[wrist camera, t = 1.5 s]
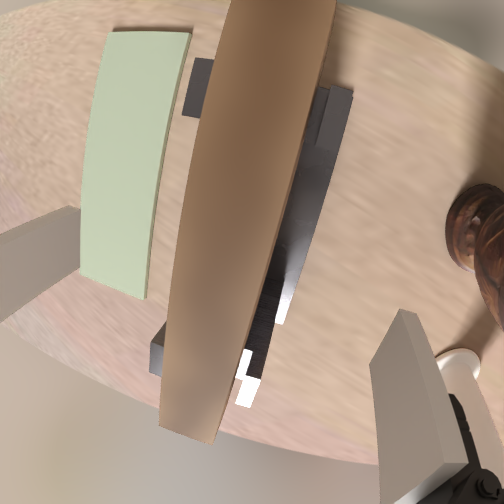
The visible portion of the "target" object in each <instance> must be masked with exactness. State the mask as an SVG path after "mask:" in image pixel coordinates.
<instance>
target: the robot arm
mask: <svg viewBox="0 0 504 504" xmlns="http://www.w3.org/2000/svg"><path fill="white" fill-rule="evenodd" d="M80 229H81V209H78V208H75V207H72V206H66V207H64V208H61V209H58V210H56V211H53V212H51V213H48V214H46V215H44V216H41V217H39V218H36V219H34V220H32V221H29V222H27V223H25V224H22V225H20V226H18V227H15V228H13V229H11V230H9V231H7V232H4V233H2V234H0V323H1V322H2V321H4V320H5V319H6V318H8V317H9V316H10V315H12V314H13V313H14V312H16V311H17V310H19V309H20V308H21V307H23V306H24V305H25V304H27V303H28V302H30V301H31V300H32V299H34V298H35V297H37V296H38V295H40V294H41V293H42V292H44V291H45V290H47V289H48V288H50V287H51V286H53V285H54V284H56V283H57V282H59V281H60V280H62V279H63V278H64V277H66V276H67V275H69V274H71V273H72V272H74V271H75V270H77V269H78V268H80ZM369 366H370V374H371V381H372V390H373V399H374V408H375V418H376V430H377V443H378V458H379V478H380V504H504V489H502V486H501V483H500V481H499V479H498V477H497V476H496V475H495V474H494V473H493V472H491V471H489V470H488V469H482V468H481V465H480V461H479V457H478V454H477V450H476V447H475V444H474V440H473V437H472V434H471V431H469V430H470V427H469V424H468V421H466V419H467V418H466V415H465V412H464V410H463V407H462V405H461V404H460V402H459V401H458V399H457V398H456V397H455V395H454V394H450V393H448V392H447V389H446V386H445V383H444V381H443V378H442V375H441V372H440V370H439V367H438V364H437V362H436V359H435V357H434V354H433V351H432V349H431V346H430V344H429V342H428V339H427V337H426V334H425V332H424V329H423V327H422V325H421V322H420V320H419V318H418V316H417V314H416V313H413V312H410V311H406V310H403V309H399V311H398V313H397V315H396V317H395V318H394V320H393V322H392V324H391V326H390V328H389V330H388V332H387V334H386V335H385V337H384V339H383V341H382V343H381V344H380V346H379V348H378V350H377V352H376V353H375V355H374V357H373V359H372V360H371V362H370V364H369Z"/></svg>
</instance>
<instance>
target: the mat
mask: <svg viewBox="0 0 504 504" xmlns="http://www.w3.org/2000/svg"><path fill="white" fill-rule="evenodd" d="M191 37H192V34H190V33H183V32H159V31H128V32H108V36H107V39H106V43H105V47H104V51H103V55H102V59H101V63H100V67H99V71H98V76H97V81H96V85H95V90H94V96H93V101H92V106H91V112H90V118H89V125H88V132H87V139H86V147H85V155H84V165H83V176H82V188H81V205H80V209H81V229H80V275H83V276H85V277H87V278H90V279H92V280H94V281H97V282H99V283H101V284H104V285H106V286H109V287H111V288H114V289H116V290H118V291H121V292H123V293H126V294H129V295H131V296H134V297H136V298H139V299H141V300H145V298H146V297H147V284H148V273H149V263H150V253H151V244H152V235H153V227H154V219H155V212H156V204H157V198H158V191H159V184H160V178H161V172H162V166H163V160H164V155H165V149H166V144H167V138H168V133H169V128H170V123H171V119H172V114H173V109H174V105H175V100H176V96H177V91H178V87H179V83H180V79H181V75H182V71H183V67H184V63H185V59H186V55H187V51H188V48H189V44H190V40H191Z"/></svg>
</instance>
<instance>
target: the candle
mask: <svg viewBox="0 0 504 504" xmlns="http://www.w3.org/2000/svg"><path fill="white" fill-rule="evenodd" d="M435 359H436V362H437V364H438V367H439V370H440V372H441V375H442V378H443V381H444V383H445V386H446V389H447V392H448V393H450V394H454V395H455V397H456V398H457V399H458V401H459V402H460V404H461V405H462V407H463V410H464V412H465V415H466V418H467V419H466V421H468V424H469V427H470V430H469V431H471V434H472V437H473V440H474V444H475V447H476V450H477V454H478V457H479V461H480V465H481V468H482V469H488V470H489V471H491V472H493V473H494V474H495V475H496V476H497V477H498V479H499V481H500V483H501V486H502V489H504V448H503V445H502V442H501V440H500V437H499V434H498V432H497V429H496V426H495V424H494V421H493V419H492V416H491V414H490V412H489V409H488V407H487V404H486V402H485V400H484V397H483V395H482V393H481V391H480V388H479V386H478V384H477V382H476V378H477V376H478V374H479V371H480V361H479V358H478V356H477V355H476V354H475V353H474V352H473V351H472V350H469V349H464V348H459V349H453V350H450V351H447V352H445V353H443V354H441V355H440V356H438V357H437V358H435Z"/></svg>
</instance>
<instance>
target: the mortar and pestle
mask: <svg viewBox="0 0 504 504" xmlns="http://www.w3.org/2000/svg"><path fill="white" fill-rule="evenodd" d="M445 234H446V243H447V248H448V251H449V254H450V256H451V258H452V259H453V260H454V261H455V263H456V264H457V265H458V266H460V267H461V268H462V269H464V270H466V271H469V272H472V273H475V275H476V279H477V282H478V285H479V287H480V291H481V294H482V296H483V299H484V301H485V303H486V305H487V307H488V309H489V311H490V312H491V314H492V315H493V317H494V319H495V320H496V322H497V323H498V324H499V326H500V328H501V329H502V330H503V331H504V193H503V192H502V191H501V190H500V189H499V188H497V187H495V186H492V185H490V184H482V185H477V186H475V187H472V188H470V189H469V190H468V191H466V192H465V193H464V194H462V195H461V196H460V197H459V198H458V199H457V200H456V202H455V203H454V205H453V207H452V208H451V210H450V211H449V213H448V216H447V221H446V230H445Z"/></svg>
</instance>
